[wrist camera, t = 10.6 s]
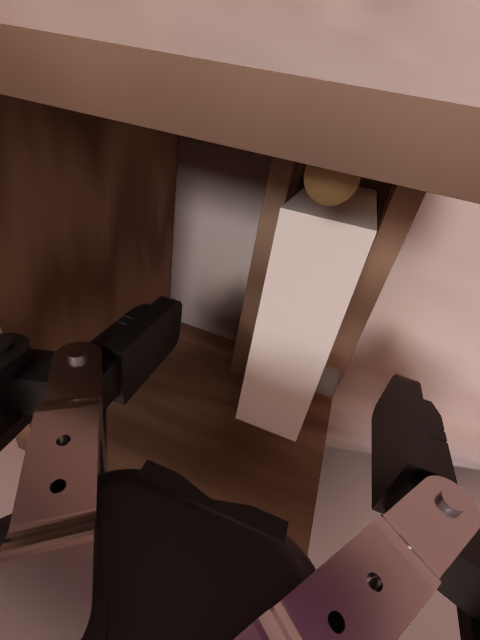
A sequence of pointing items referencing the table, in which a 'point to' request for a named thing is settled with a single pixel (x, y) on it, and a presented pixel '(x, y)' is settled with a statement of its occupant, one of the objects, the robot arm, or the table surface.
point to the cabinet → (157, 230)
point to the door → (304, 307)
